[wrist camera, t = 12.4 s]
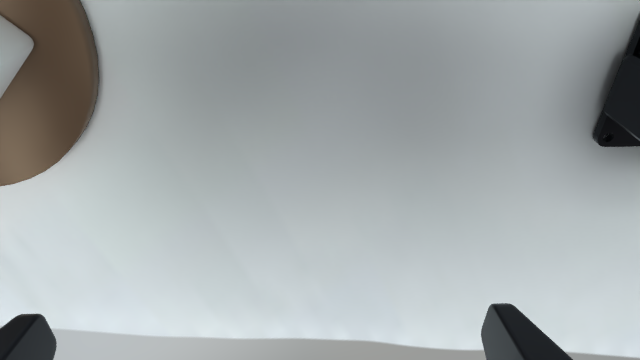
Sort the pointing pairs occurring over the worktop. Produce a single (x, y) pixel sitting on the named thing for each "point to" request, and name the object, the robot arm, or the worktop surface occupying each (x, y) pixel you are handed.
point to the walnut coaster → (47, 87)
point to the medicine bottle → (12, 51)
